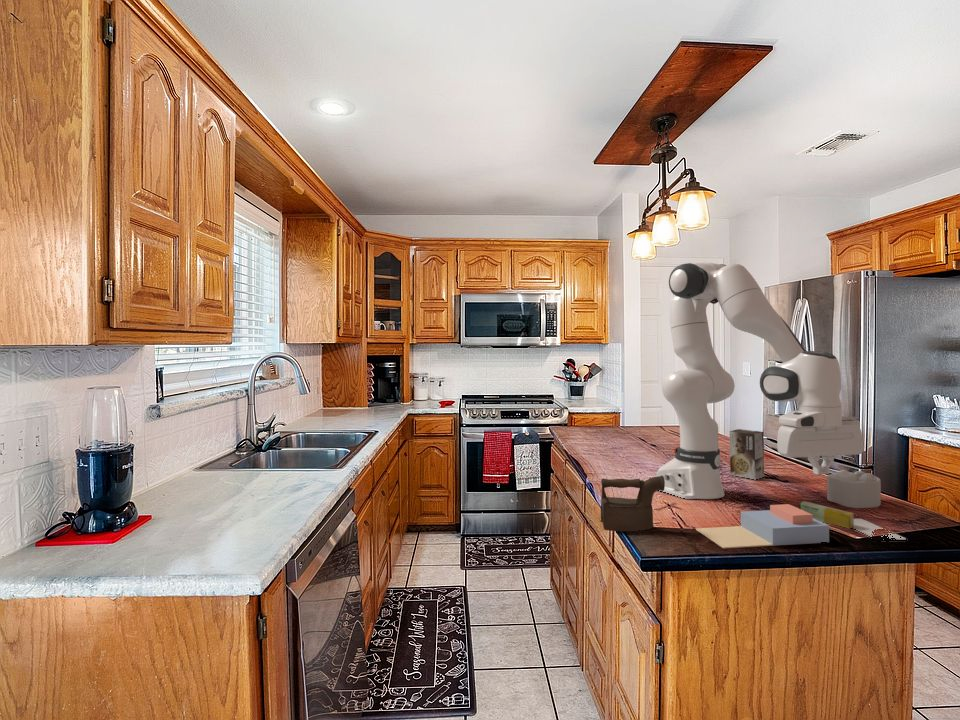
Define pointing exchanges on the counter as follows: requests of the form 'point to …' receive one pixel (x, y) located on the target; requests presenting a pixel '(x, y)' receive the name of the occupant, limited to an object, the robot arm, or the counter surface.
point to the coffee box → (747, 453)
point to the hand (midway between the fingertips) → (821, 473)
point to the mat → (733, 537)
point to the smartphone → (872, 529)
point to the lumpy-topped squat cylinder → (854, 489)
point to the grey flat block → (783, 529)
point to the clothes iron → (629, 505)
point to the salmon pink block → (791, 514)
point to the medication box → (828, 514)
